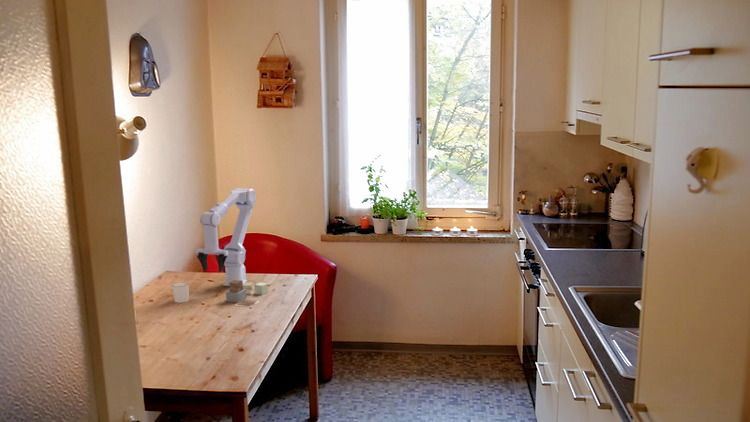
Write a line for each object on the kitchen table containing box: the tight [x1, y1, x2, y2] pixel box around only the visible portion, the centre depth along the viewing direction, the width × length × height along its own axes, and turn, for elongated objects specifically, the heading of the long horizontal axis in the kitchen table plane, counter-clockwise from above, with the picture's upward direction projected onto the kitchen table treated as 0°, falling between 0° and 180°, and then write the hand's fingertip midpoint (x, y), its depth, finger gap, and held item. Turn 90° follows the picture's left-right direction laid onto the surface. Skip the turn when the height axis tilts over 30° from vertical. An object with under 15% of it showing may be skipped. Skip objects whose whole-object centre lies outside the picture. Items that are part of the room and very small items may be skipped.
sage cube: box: [254, 281, 269, 296], centre depth 287 cm, size 4×4×4 cm
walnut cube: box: [228, 280, 243, 292], centre depth 278 cm, size 4×4×4 cm
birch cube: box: [243, 281, 255, 295], centre depth 288 cm, size 4×4×4 cm
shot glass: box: [171, 281, 190, 304], centre depth 278 cm, size 7×7×7 cm
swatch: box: [234, 299, 260, 308], centre depth 273 cm, size 7×7×1 cm
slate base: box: [225, 289, 248, 303], centre depth 279 cm, size 6×6×4 cm
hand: (213, 270), depth 287 cm, fingers open, 7 cm apart
